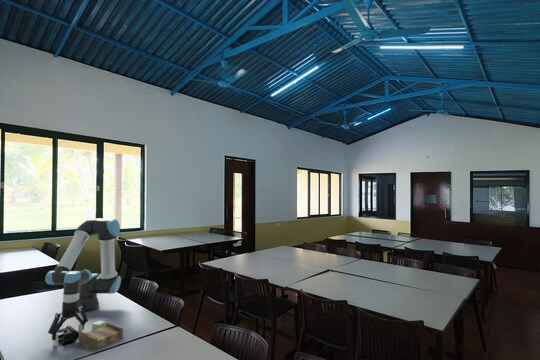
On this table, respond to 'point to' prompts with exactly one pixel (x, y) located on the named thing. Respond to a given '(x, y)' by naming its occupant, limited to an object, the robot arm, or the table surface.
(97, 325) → the sage cube
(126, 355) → the table surface
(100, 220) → the robot arm
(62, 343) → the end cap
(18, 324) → the table surface
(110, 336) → the pedestal
